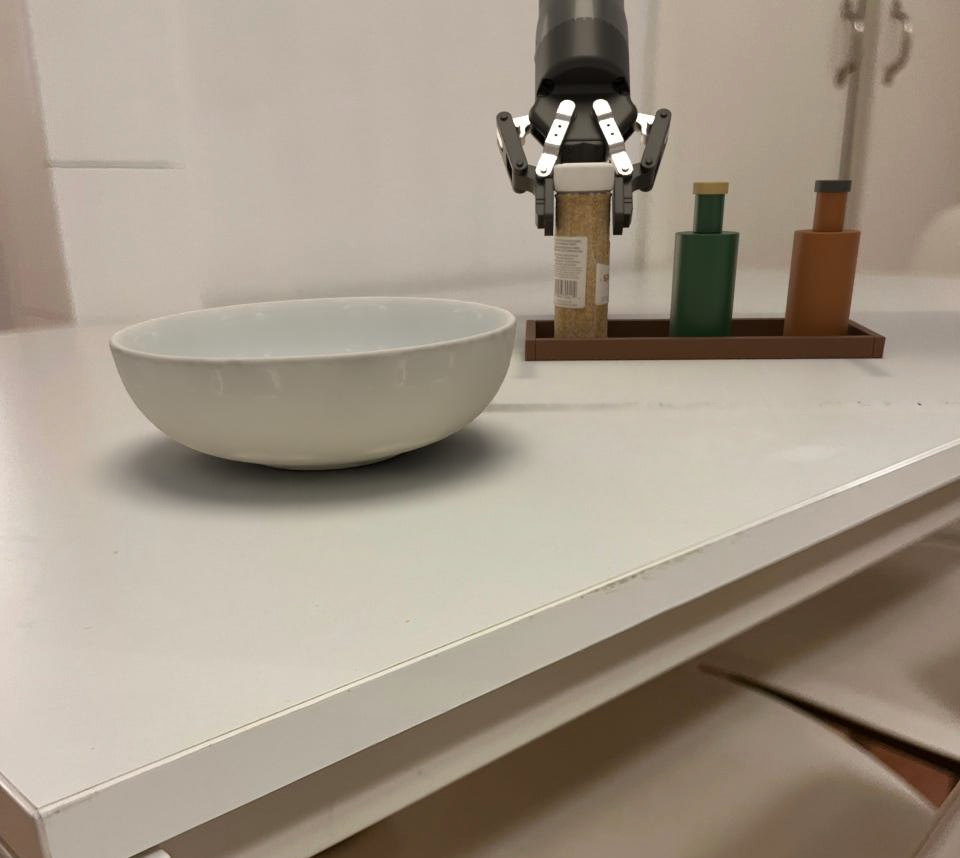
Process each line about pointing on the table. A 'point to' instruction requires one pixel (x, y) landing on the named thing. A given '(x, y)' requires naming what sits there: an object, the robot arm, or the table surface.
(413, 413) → the serving bowl
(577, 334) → the sprinkles bottle
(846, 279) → the amber bottle
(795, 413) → the table surface
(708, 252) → the green bottle
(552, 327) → the tray
